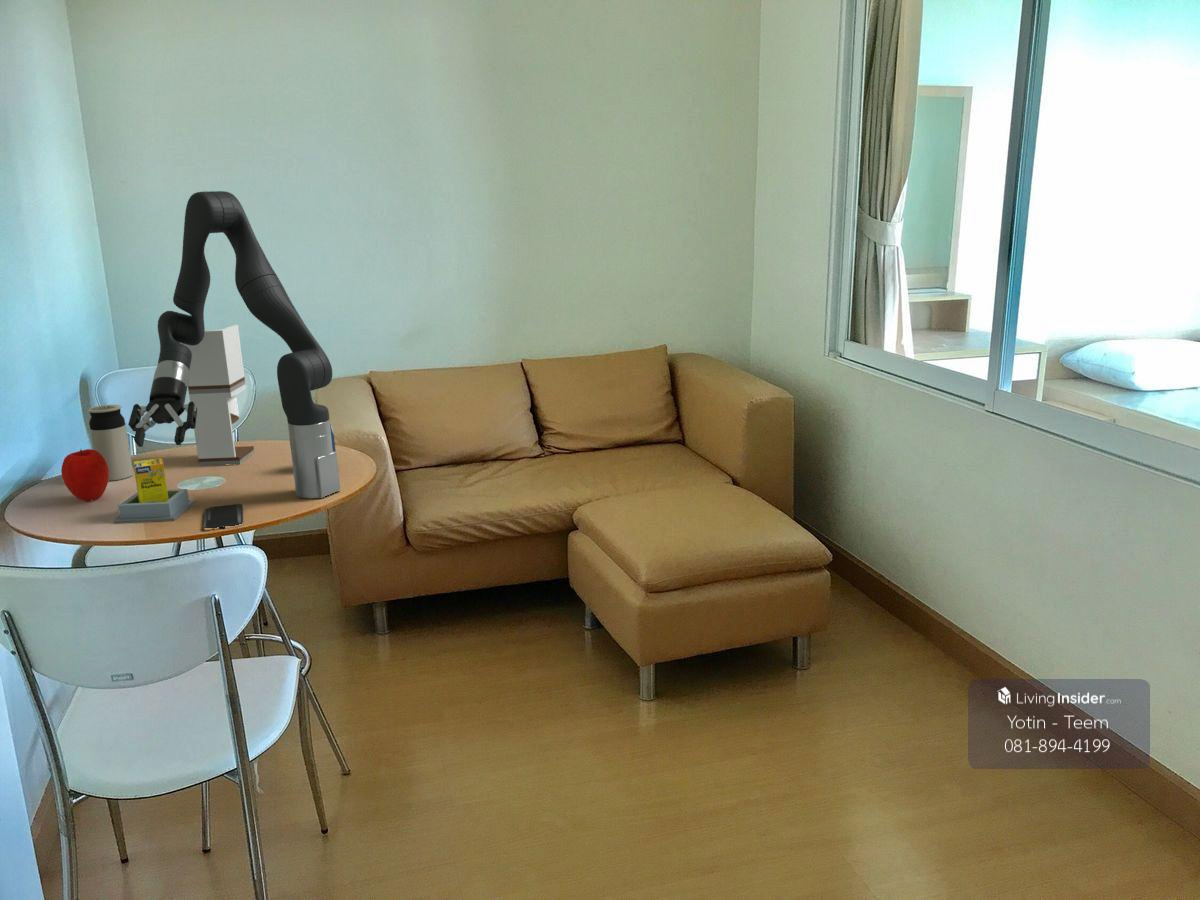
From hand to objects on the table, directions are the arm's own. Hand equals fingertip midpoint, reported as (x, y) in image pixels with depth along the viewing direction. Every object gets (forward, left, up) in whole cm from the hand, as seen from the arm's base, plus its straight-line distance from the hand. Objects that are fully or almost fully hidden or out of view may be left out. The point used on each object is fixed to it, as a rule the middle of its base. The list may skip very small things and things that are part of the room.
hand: (158, 444), depth 223 cm
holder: (-3, +6, -14) cm, 15 cm away
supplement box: (-3, +6, -14) cm, 15 cm away
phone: (-21, +3, -15) cm, 26 cm away
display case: (+18, -33, -14) cm, 40 cm away
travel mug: (+32, -10, -14) cm, 36 cm away
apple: (+21, +5, -14) cm, 26 cm away
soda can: (-13, -36, -14) cm, 41 cm away
